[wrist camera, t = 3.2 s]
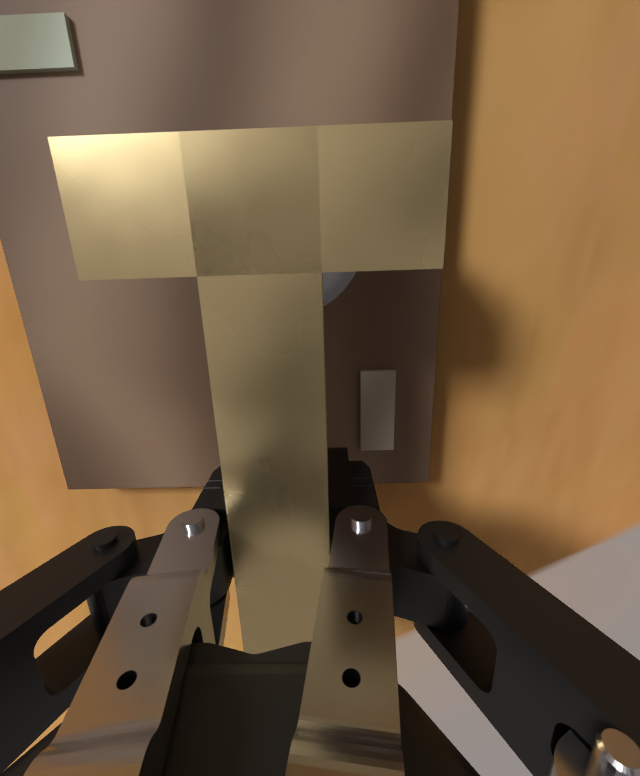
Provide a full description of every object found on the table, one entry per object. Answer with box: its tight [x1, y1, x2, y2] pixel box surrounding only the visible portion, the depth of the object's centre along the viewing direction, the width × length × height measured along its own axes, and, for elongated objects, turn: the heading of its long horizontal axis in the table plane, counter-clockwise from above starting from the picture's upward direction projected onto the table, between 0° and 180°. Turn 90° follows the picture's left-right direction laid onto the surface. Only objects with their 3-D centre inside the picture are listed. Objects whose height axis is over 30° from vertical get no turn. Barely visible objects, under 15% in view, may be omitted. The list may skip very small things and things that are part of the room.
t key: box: [48, 120, 453, 654], centre depth 11 cm, size 7×14×5 cm, turn 2°
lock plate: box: [0, 0, 459, 489], centre depth 12 cm, size 14×18×2 cm
